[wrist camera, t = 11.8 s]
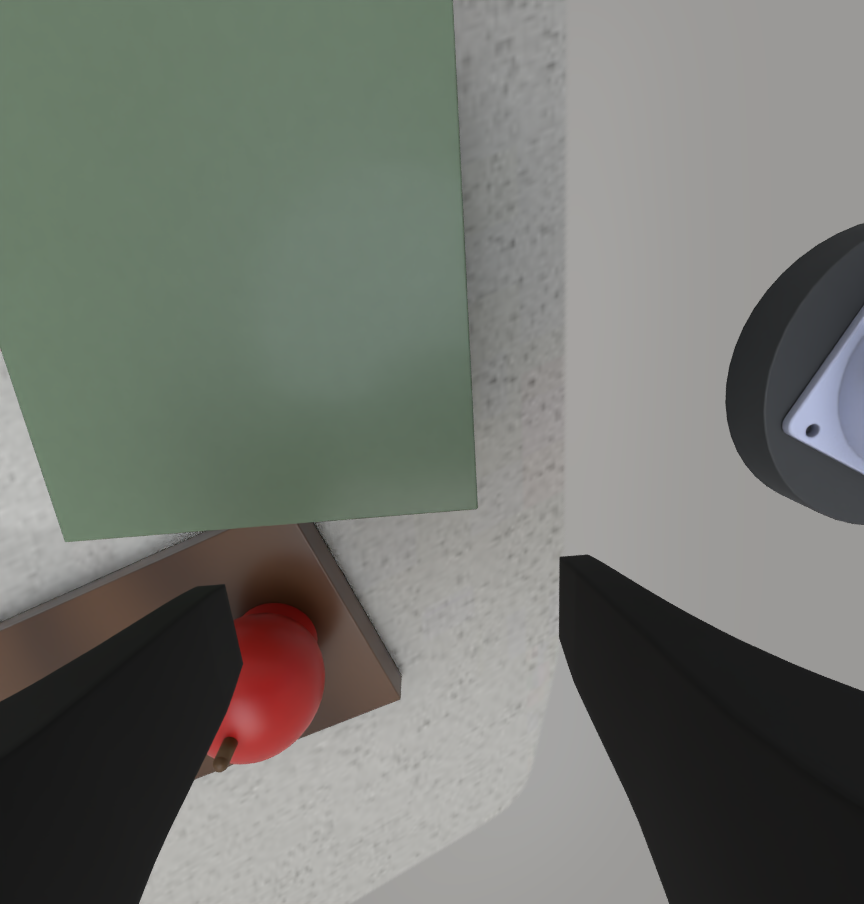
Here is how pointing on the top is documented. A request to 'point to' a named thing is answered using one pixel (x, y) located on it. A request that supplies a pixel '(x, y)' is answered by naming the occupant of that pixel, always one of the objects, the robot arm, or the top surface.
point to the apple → (270, 686)
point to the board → (248, 585)
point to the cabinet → (235, 260)
